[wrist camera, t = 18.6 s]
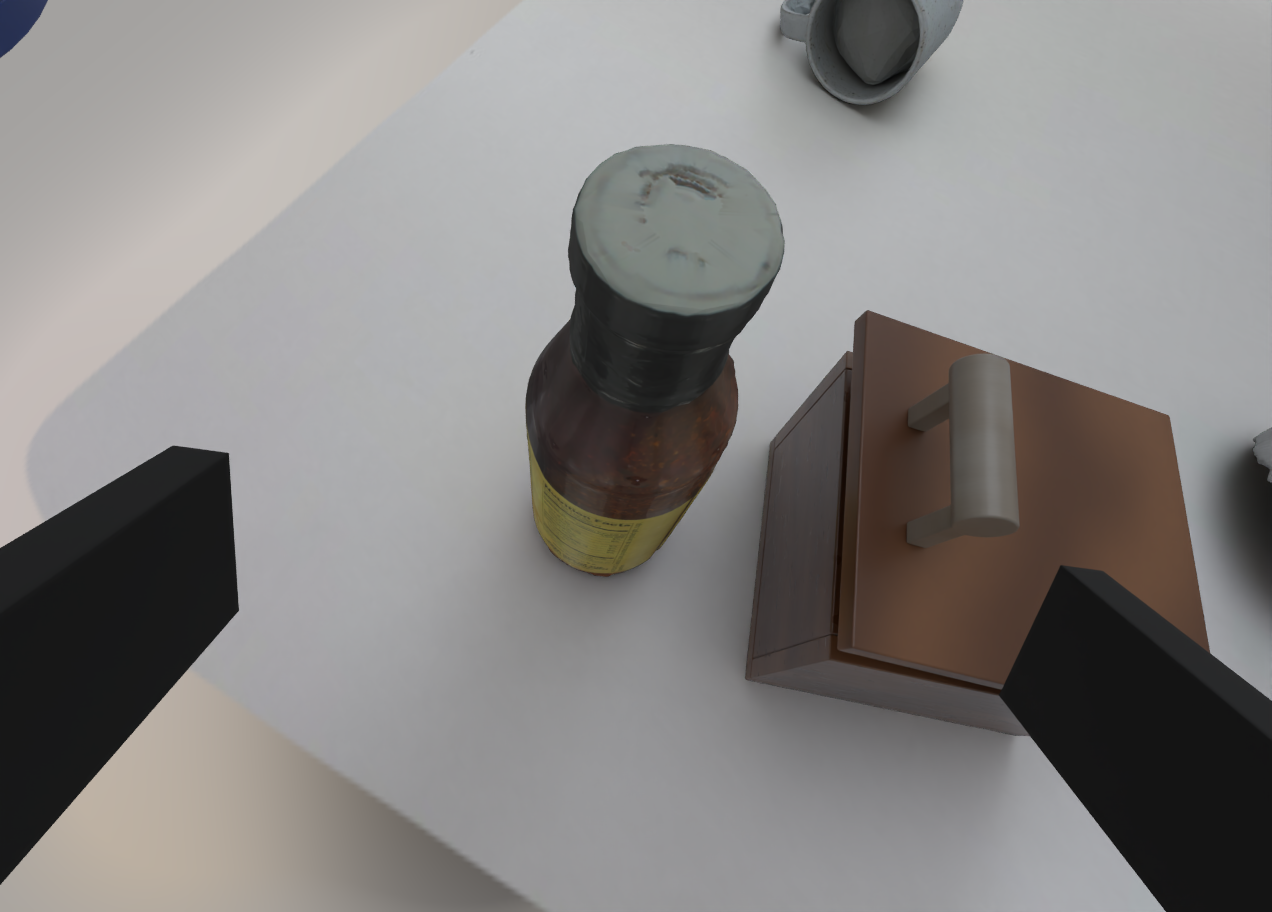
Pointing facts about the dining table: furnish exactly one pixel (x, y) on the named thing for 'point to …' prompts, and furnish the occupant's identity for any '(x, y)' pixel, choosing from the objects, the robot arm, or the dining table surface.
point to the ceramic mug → (868, 41)
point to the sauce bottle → (646, 350)
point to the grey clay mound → (1264, 450)
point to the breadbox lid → (995, 503)
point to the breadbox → (833, 581)
